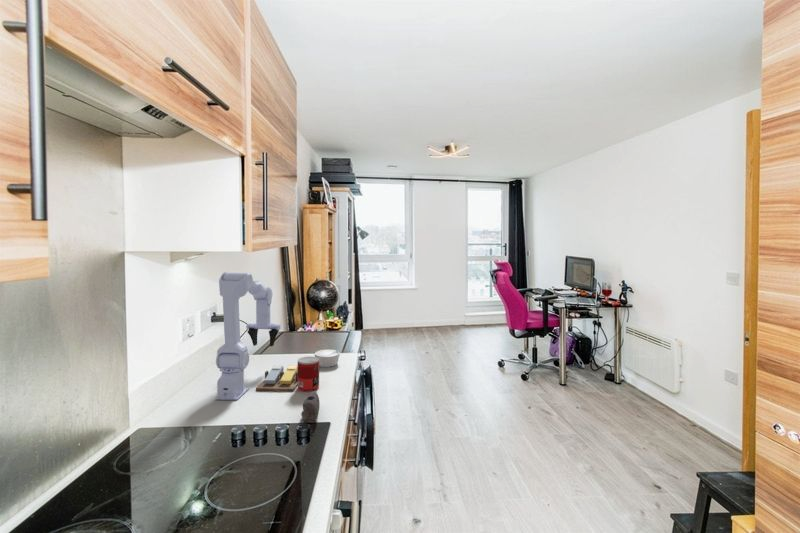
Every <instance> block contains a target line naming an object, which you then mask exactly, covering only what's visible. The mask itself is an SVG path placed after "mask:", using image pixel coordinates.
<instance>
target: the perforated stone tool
mask: <svg viewBox="0 0 800 533" xmlns="http://www.w3.org/2000/svg"><path fill="white" fill-rule="evenodd" d="M320 405H321V404H320V397H319V395H318V393H317V392H316V391H310V392H309V393H307V395H306V396H305V398H304V399H303V401H302V411H301V414H300V415H301V417H302V420H303V422H304V423H307V424H308V423H310V424H311V423H312V424H313V423H316V421H317V419H318V416H319V411H320Z"/></svg>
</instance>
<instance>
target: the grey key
mask: <svg viewBox="0 0 800 533" xmlns="http://www.w3.org/2000/svg"><path fill="white" fill-rule="evenodd" d="M281 371H284V366H283V365H282V364H280V365H277V364H276V365H275V364H274V365H273V366H272V368H271V369H270V371H268V375H267V377H266V378H265V377H264V380H263V381H264V382H265V384H275V383H276V381H277V380H278V378H279V376H280V372H281Z"/></svg>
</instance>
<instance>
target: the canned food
mask: <svg viewBox="0 0 800 533" xmlns="http://www.w3.org/2000/svg"><path fill="white" fill-rule="evenodd" d="M297 366H298V386H297V389H298V390H299V391H301V392H315V391H316V390H318V388H319V387H320V366H319V358H317V357H315V356H303V357H299V358H298V359H297Z"/></svg>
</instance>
